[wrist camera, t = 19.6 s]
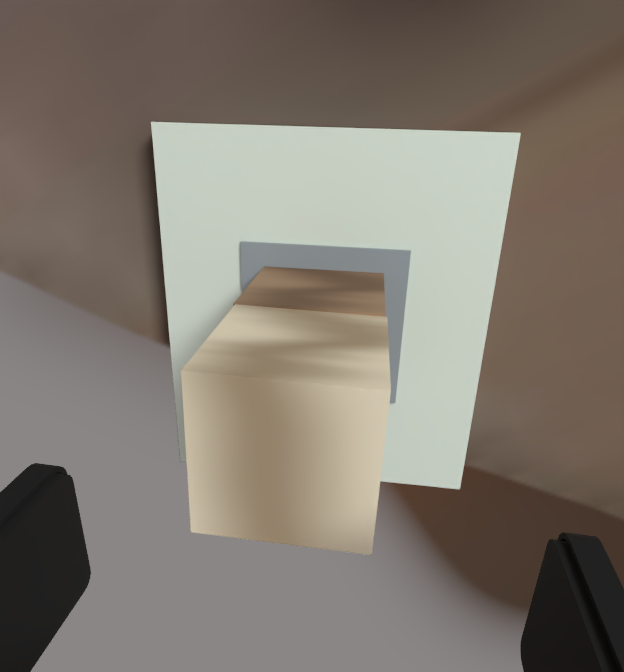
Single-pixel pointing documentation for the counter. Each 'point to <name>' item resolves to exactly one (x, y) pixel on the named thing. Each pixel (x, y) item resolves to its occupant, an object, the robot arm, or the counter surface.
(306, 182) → the build board
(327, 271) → the walnut cube
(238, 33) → the counter surface
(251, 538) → the maple cube
